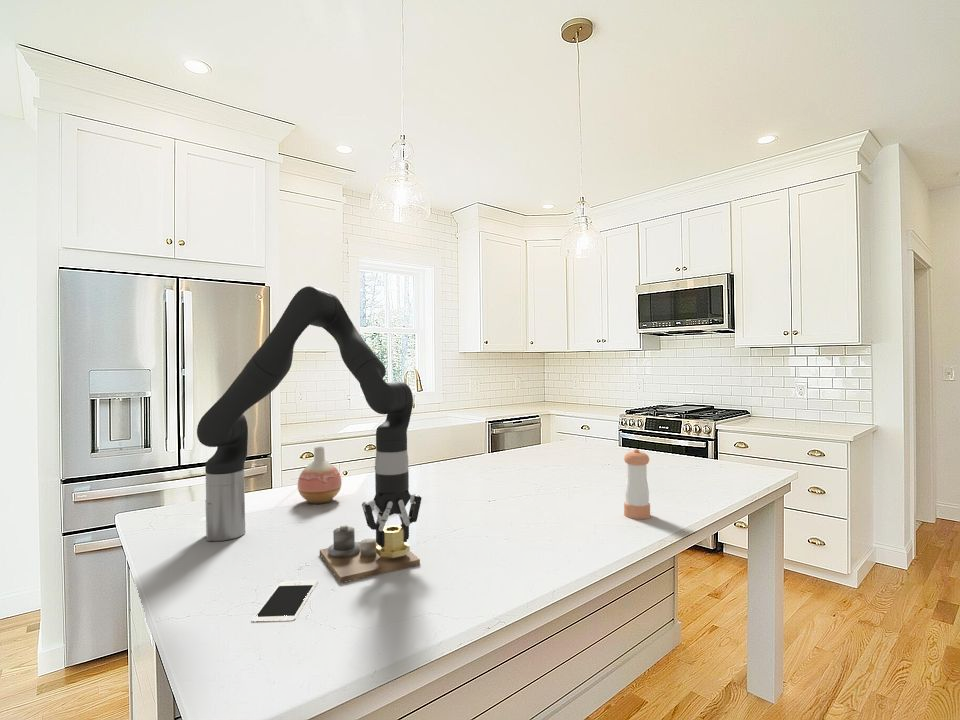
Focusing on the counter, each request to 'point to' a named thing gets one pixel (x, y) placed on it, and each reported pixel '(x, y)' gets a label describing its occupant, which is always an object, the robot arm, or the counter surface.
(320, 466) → the vase
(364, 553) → the board
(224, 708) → the counter surface
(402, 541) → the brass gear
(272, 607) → the cell phone
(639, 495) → the salt shaker
